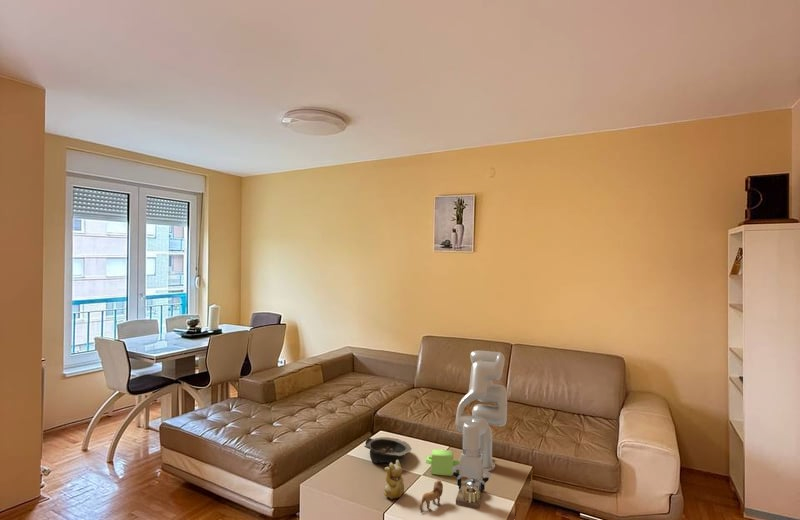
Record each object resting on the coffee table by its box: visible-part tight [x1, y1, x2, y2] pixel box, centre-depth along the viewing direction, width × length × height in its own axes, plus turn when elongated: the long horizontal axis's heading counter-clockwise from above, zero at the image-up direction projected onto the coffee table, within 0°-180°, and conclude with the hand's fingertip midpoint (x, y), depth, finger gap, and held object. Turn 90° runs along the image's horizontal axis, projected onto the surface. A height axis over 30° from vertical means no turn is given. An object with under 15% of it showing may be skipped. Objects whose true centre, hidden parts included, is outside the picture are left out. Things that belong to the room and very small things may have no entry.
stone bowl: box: [363, 436, 413, 465], centre depth 226 cm, size 25×25×9 cm
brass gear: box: [462, 486, 480, 503], centre depth 185 cm, size 7×7×4 cm
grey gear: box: [464, 477, 481, 491], centre depth 193 cm, size 7×7×4 cm
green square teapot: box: [425, 448, 460, 477], centre depth 213 cm, size 18×10×10 cm, turn 83°
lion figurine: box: [419, 480, 444, 514], centre depth 182 cm, size 15×5×9 cm, turn 141°
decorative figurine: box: [383, 460, 405, 501], centre depth 190 cm, size 10×8×15 cm
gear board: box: [455, 482, 483, 509], centre depth 190 cm, size 15×10×6 cm, turn 162°
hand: (470, 489), depth 186 cm, fingers open, 9 cm apart
